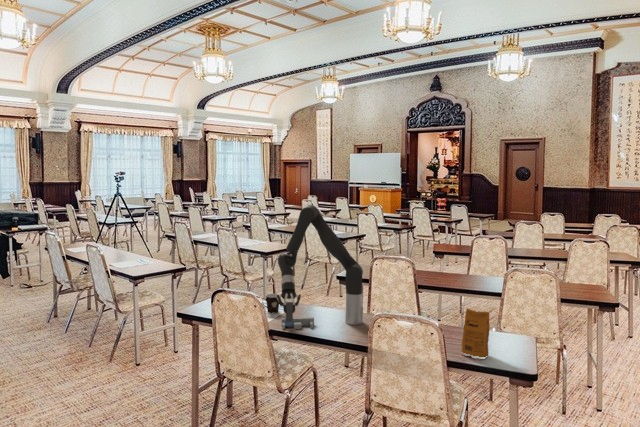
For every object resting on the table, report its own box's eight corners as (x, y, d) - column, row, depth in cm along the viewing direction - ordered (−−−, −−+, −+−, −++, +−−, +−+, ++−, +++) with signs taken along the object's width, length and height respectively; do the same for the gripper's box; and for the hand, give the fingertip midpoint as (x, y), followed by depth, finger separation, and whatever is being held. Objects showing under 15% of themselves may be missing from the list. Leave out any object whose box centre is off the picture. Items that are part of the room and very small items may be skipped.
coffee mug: (281, 309, 299) (281, 294, 298) (278, 314, 291) (278, 297, 290) (262, 309, 300) (262, 293, 299) (259, 313, 292) (259, 296, 291)
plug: (292, 319, 267) (292, 298, 266) (292, 321, 263) (293, 300, 262) (285, 320, 266) (285, 298, 265) (286, 322, 263) (286, 300, 262)
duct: (313, 324, 273) (313, 316, 272) (315, 328, 266) (315, 320, 265) (281, 325, 270) (281, 317, 270) (282, 329, 263) (282, 321, 263)
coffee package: (465, 349, 237) (466, 305, 235) (491, 355, 230) (493, 309, 228) (458, 355, 229) (459, 310, 227) (484, 361, 222) (486, 315, 220)
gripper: (275, 281, 269) (276, 309, 258) (301, 281, 271) (303, 308, 260) (275, 288, 275) (276, 315, 264) (300, 288, 277) (302, 315, 266)
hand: (289, 312), depth 262 cm, fingers closed on plug, 3 cm apart
